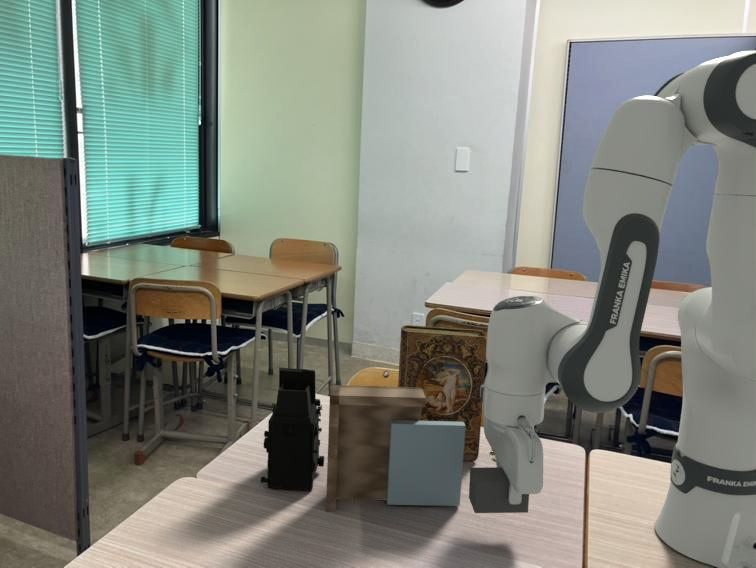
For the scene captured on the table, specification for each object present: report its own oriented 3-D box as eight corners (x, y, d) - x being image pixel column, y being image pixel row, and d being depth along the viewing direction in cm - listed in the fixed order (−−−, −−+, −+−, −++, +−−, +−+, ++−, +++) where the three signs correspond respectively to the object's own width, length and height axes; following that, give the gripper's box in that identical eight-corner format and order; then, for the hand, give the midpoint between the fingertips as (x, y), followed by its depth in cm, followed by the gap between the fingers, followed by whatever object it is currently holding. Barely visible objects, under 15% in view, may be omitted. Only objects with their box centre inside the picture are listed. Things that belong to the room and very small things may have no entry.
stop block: (519, 497, 94) (521, 467, 93) (527, 512, 90) (529, 481, 89) (468, 497, 94) (470, 467, 93) (474, 513, 89) (476, 481, 88)
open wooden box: (415, 497, 102) (421, 387, 99) (418, 512, 97) (425, 397, 94) (327, 495, 101) (330, 385, 98) (325, 511, 97) (329, 395, 93)
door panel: (457, 500, 101) (463, 421, 99) (459, 505, 99) (465, 425, 97) (386, 499, 100) (390, 419, 98) (387, 504, 99) (391, 423, 96)
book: (393, 455, 118) (400, 331, 114) (395, 443, 123) (402, 324, 119) (478, 462, 116) (487, 337, 112) (476, 450, 122) (485, 330, 118)
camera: (327, 458, 115) (330, 357, 112) (317, 494, 102) (321, 380, 98) (275, 455, 115) (277, 354, 112) (259, 491, 102) (260, 377, 99)
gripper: (558, 433, 79) (551, 530, 81) (515, 383, 99) (511, 461, 101) (511, 433, 79) (505, 530, 81) (477, 383, 99) (474, 461, 101)
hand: (508, 491), depth 91 cm, fingers closed on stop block, 4 cm apart
